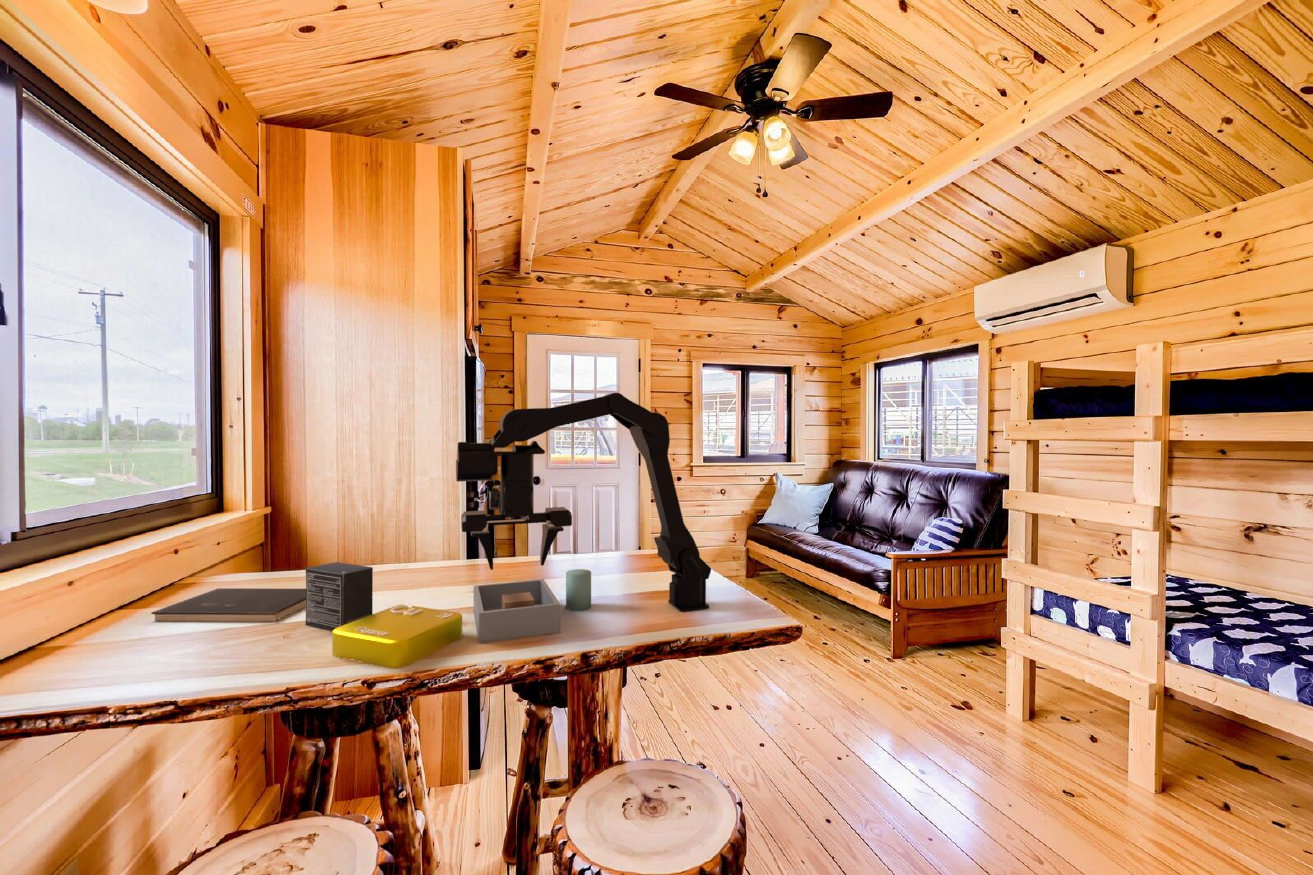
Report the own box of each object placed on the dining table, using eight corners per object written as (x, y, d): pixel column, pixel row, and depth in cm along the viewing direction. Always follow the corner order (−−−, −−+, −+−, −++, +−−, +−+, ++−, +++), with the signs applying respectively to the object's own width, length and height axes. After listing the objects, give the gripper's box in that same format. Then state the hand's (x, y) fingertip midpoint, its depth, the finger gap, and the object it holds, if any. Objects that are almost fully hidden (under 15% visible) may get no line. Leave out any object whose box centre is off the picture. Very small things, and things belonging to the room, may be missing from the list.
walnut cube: (529, 619, 103) (529, 592, 103) (534, 628, 98) (534, 599, 98) (501, 622, 101) (501, 594, 101) (504, 631, 96) (504, 603, 96)
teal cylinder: (587, 602, 115) (587, 568, 115) (593, 609, 110) (593, 574, 110) (563, 604, 113) (563, 570, 113) (568, 612, 109) (568, 576, 108)
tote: (543, 603, 114) (543, 579, 114) (560, 632, 98) (560, 604, 98) (473, 611, 109) (473, 585, 109) (479, 643, 93) (479, 613, 93)
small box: (375, 622, 103) (375, 565, 102) (342, 634, 97) (342, 574, 97) (337, 614, 107) (337, 560, 107) (303, 625, 101) (303, 567, 101)
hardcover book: (274, 625, 103) (274, 612, 103) (151, 624, 103) (151, 612, 103) (327, 598, 119) (327, 587, 119) (220, 598, 119) (220, 587, 119)
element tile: (325, 657, 88) (325, 627, 88) (400, 626, 102) (400, 600, 102) (399, 673, 82) (399, 640, 82) (467, 637, 96) (467, 610, 96)
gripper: (560, 475, 110) (560, 553, 110) (460, 477, 103) (460, 561, 104) (572, 479, 100) (572, 566, 100) (462, 483, 93) (462, 576, 93)
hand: (517, 567), depth 99 cm, fingers open, 8 cm apart
